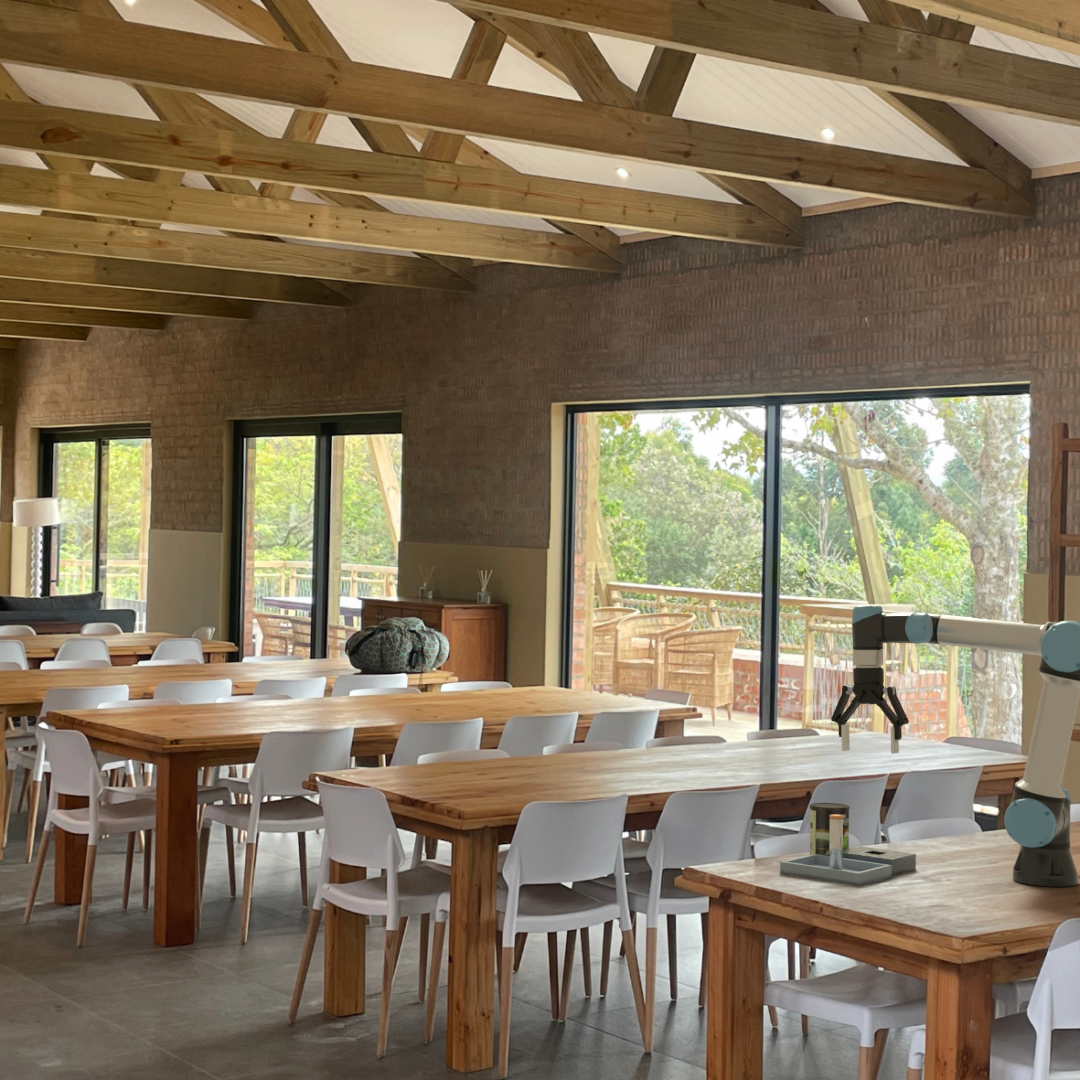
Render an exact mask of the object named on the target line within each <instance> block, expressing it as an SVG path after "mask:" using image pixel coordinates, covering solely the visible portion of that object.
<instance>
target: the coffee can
mask: <svg viewBox="0 0 1080 1080" xmlns="http://www.w3.org/2000/svg"><path fill="white" fill-rule="evenodd" d="M809 809H810V810H809V823H810V824H809V855H813V854H818V855H824V856H830V815H834V814H835V815H843V850H846V849H850V848H849V844H850V843H849V841H850V839H849V837H850V836H849V835H850V832H849V831H850V805H847V804H844V803H836V802H814V803H813V802H812V803H810V804H809Z"/></svg>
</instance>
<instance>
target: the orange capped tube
mask: <svg viewBox="0 0 1080 1080" xmlns="http://www.w3.org/2000/svg"><path fill="white" fill-rule="evenodd" d="M829 868H831V869H838V870H843V815H835V814H834V815H830V857H829Z"/></svg>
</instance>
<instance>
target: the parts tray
mask: <svg viewBox="0 0 1080 1080" xmlns="http://www.w3.org/2000/svg"><path fill="white" fill-rule="evenodd" d="M829 857H830V856H824V855H818V854H813V855H810V854H808V855H805V856H799V857H795V858H790V859H786V860H782V861H780V862H779V874H780V873H781V874H780V875H784V874H787V875H786V876H791V875H793V876H792V877H797V876H798V877H799V878H804V879H811V880H816V881H824V882H829V883H834V884H835V883H836V884H842V885H849V886H854V887H855V886H856V887H861V886H865V885H868V884H872V883H876V882H880V881H884V880H887V879H891V878H892V877H893V876H892V865H887V864H880V863H873V862H866V861H859V860H852V859H845V858H843V870H838V869H831V868H829Z"/></svg>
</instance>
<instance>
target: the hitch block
mask: <svg viewBox="0 0 1080 1080" xmlns="http://www.w3.org/2000/svg"><path fill="white" fill-rule="evenodd" d="M843 858H845V859H852V860H859V861H866V862H873V863H880V864H887V865H892V877H893V876H897V875H902V874H905V873H909V872H913V871H916V870H917V868H916V867H917V865H916V864H917V863H916V862H917V855H916V853H913V852H912V853H911V852H903V851H896V850H889V849H884V848H883V849H881V848H875V847H867V846H860V845H859V846H855V847H850V848H849V849H846V850H843Z"/></svg>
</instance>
